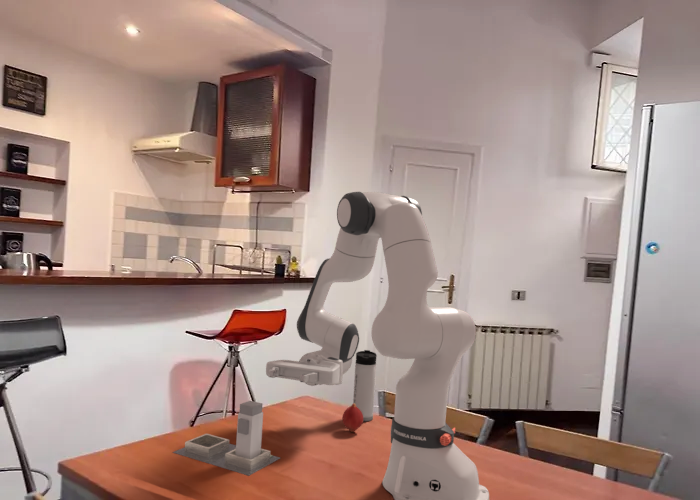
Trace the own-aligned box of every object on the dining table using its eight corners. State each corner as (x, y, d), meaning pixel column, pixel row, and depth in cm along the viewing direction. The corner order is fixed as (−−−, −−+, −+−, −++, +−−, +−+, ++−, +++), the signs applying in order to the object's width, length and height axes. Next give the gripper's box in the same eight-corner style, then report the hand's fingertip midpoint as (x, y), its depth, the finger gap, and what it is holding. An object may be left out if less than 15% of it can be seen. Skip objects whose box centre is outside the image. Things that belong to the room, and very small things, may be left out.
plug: (260, 460, 122) (263, 403, 122) (247, 467, 118) (250, 408, 118) (246, 456, 124) (249, 400, 124) (232, 463, 120) (236, 405, 120)
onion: (338, 429, 150) (340, 400, 150) (356, 427, 152) (358, 399, 152) (346, 436, 144) (348, 406, 144) (365, 434, 147) (367, 405, 147)
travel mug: (373, 415, 164) (377, 350, 164) (372, 422, 158) (376, 354, 158) (353, 413, 165) (357, 349, 165) (351, 420, 158) (355, 353, 158)
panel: (280, 462, 124) (281, 449, 124) (248, 480, 114) (249, 466, 114) (207, 441, 134) (208, 429, 134) (172, 456, 124) (173, 443, 124)
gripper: (283, 352, 150) (252, 359, 138) (348, 360, 141) (321, 368, 128) (282, 375, 150) (251, 383, 137) (347, 384, 141) (320, 395, 128)
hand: (286, 376), depth 133 cm, fingers open, 8 cm apart
